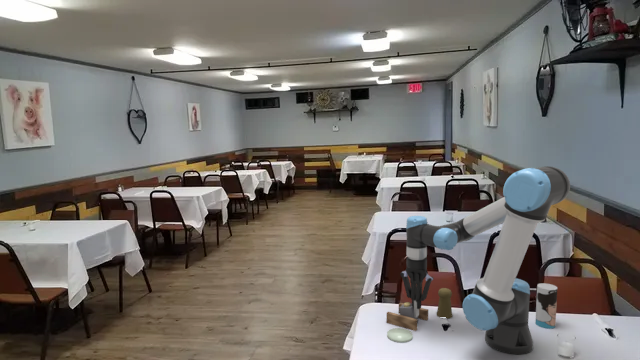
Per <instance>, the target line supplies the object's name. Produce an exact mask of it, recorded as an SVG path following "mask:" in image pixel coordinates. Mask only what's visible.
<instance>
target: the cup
mask: <svg viewBox="0 0 640 360" xmlns="http://www.w3.org/2000/svg"><path fill="white" fill-rule="evenodd" d="M535 301H536V307H535V322H534V323H535V325H537V326H538V327H540V328H542V329H550V330H551V329H555V328H556V323H557V322H556V321H557V303H558V286H557V285H555V284H550V283H537V286H536V300H535Z"/></svg>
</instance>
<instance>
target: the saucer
mask: <svg viewBox="0 0 640 360" xmlns="http://www.w3.org/2000/svg"><path fill="white" fill-rule="evenodd" d="M386 333H387V334H386V335H387V338H388V339H389V340H390V341H392V342H394V343H400V344H401V343H402V344H403V343H409V342H411V341H412V340H413V336H414V335H413V332H412V330H410V329H406V328H403V327H395V328H390V329H388V330H387V332H386Z"/></svg>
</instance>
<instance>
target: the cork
mask: <svg viewBox="0 0 640 360" xmlns="http://www.w3.org/2000/svg"><path fill="white" fill-rule="evenodd" d="M437 294H438V297H439V299H438V304H437V309H436V310H437V312H436V317H438V318H440V317H446V318H447V319H446V320H449V319H452V318H453V310H452V301H451V298H452V295H453V292H452V290H451V289H449V288H448V287H447V288H446V287H441V288H439V290H438V293H437Z"/></svg>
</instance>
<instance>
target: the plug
mask: <svg viewBox="0 0 640 360" xmlns="http://www.w3.org/2000/svg"><path fill="white" fill-rule="evenodd" d="M399 311H400V313H399V315H403V316H407V317H410V318H414V319H417V321H418V320H420V319H419V317H417V318H415V317H414V308H413V306H412V303H411V302H410V301H409V302H408V301H407V302H404V304H403V305H402V306H401V307H400V308H399V307H398V312H399Z"/></svg>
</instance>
